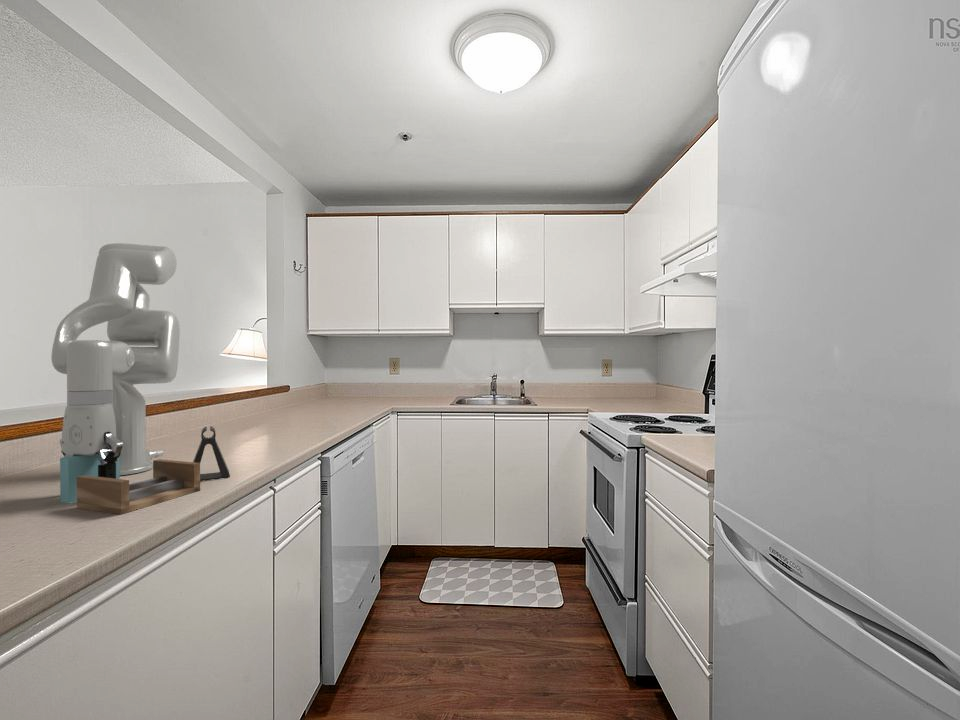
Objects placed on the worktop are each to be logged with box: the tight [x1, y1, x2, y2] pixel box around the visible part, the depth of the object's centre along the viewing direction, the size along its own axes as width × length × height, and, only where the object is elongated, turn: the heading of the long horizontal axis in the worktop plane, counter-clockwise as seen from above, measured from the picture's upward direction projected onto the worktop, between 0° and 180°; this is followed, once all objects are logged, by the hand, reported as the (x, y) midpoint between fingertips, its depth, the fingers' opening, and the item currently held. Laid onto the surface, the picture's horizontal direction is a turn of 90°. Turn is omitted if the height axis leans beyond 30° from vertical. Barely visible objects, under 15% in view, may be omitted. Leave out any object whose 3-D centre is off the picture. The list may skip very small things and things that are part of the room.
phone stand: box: [192, 426, 231, 482], centre depth 118 cm, size 9×6×12 cm, turn 119°
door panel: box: [59, 454, 121, 504], centre depth 102 cm, size 10×2×9 cm, turn 161°
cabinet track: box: [76, 458, 201, 515], centre depth 100 cm, size 17×12×6 cm
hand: (90, 481), depth 102 cm, fingers open, 9 cm apart
